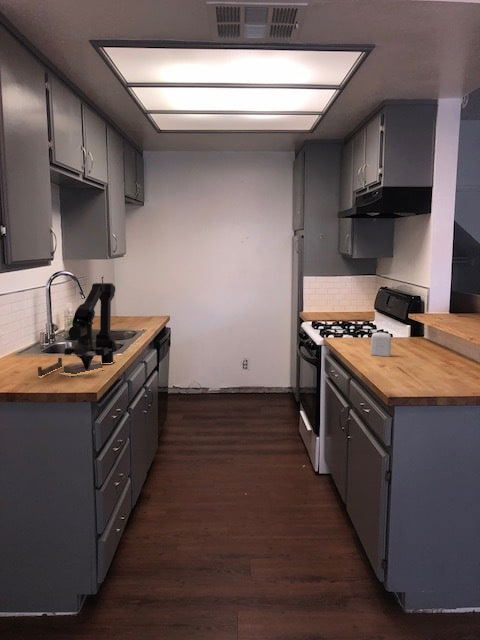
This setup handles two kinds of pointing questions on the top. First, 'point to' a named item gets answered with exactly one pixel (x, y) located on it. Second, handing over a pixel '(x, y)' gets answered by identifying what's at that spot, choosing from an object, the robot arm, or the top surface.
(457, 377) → the top surface
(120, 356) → the top surface
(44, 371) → the stop board
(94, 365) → the packaged product
